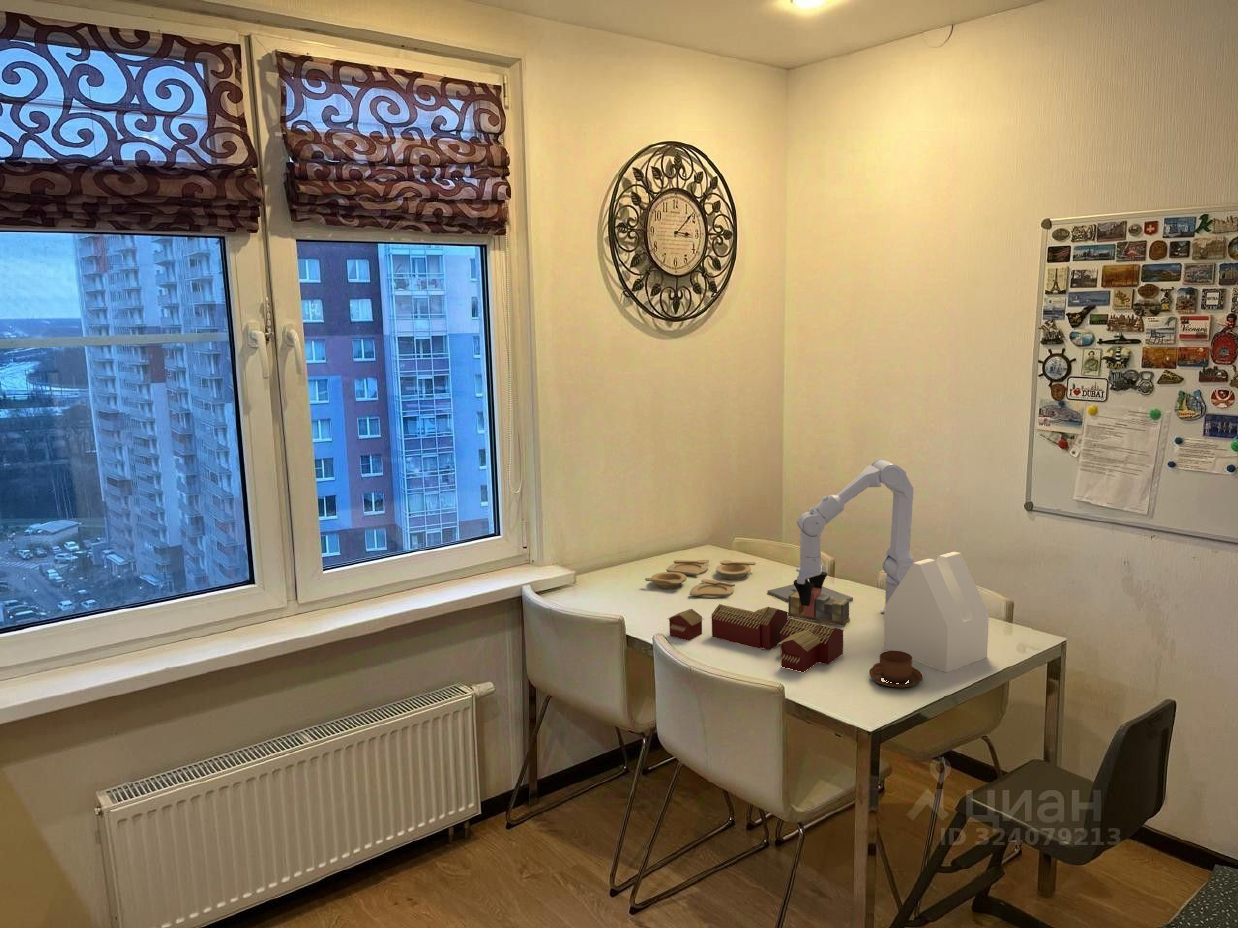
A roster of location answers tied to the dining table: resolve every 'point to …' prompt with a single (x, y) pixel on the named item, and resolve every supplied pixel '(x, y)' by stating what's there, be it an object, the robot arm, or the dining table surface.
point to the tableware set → (710, 587)
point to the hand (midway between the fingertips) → (810, 601)
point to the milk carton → (938, 615)
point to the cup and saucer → (895, 670)
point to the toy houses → (766, 634)
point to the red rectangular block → (812, 603)
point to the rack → (821, 609)
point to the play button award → (787, 590)
